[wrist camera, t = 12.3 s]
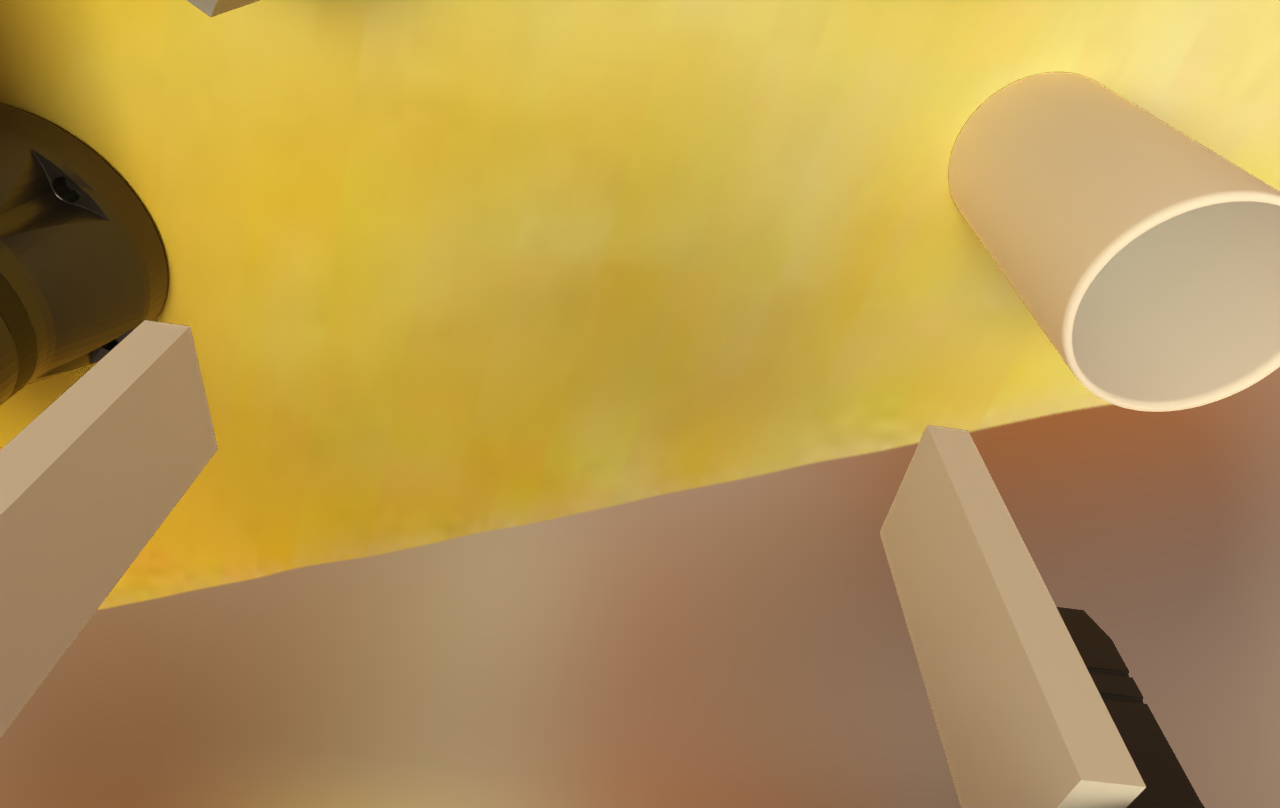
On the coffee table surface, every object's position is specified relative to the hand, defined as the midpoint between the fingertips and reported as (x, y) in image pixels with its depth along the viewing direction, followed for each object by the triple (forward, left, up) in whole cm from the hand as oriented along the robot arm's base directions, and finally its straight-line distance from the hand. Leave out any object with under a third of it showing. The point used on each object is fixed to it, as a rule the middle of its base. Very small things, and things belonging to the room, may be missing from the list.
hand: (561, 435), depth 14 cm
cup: (+20, 0, -29) cm, 35 cm away
